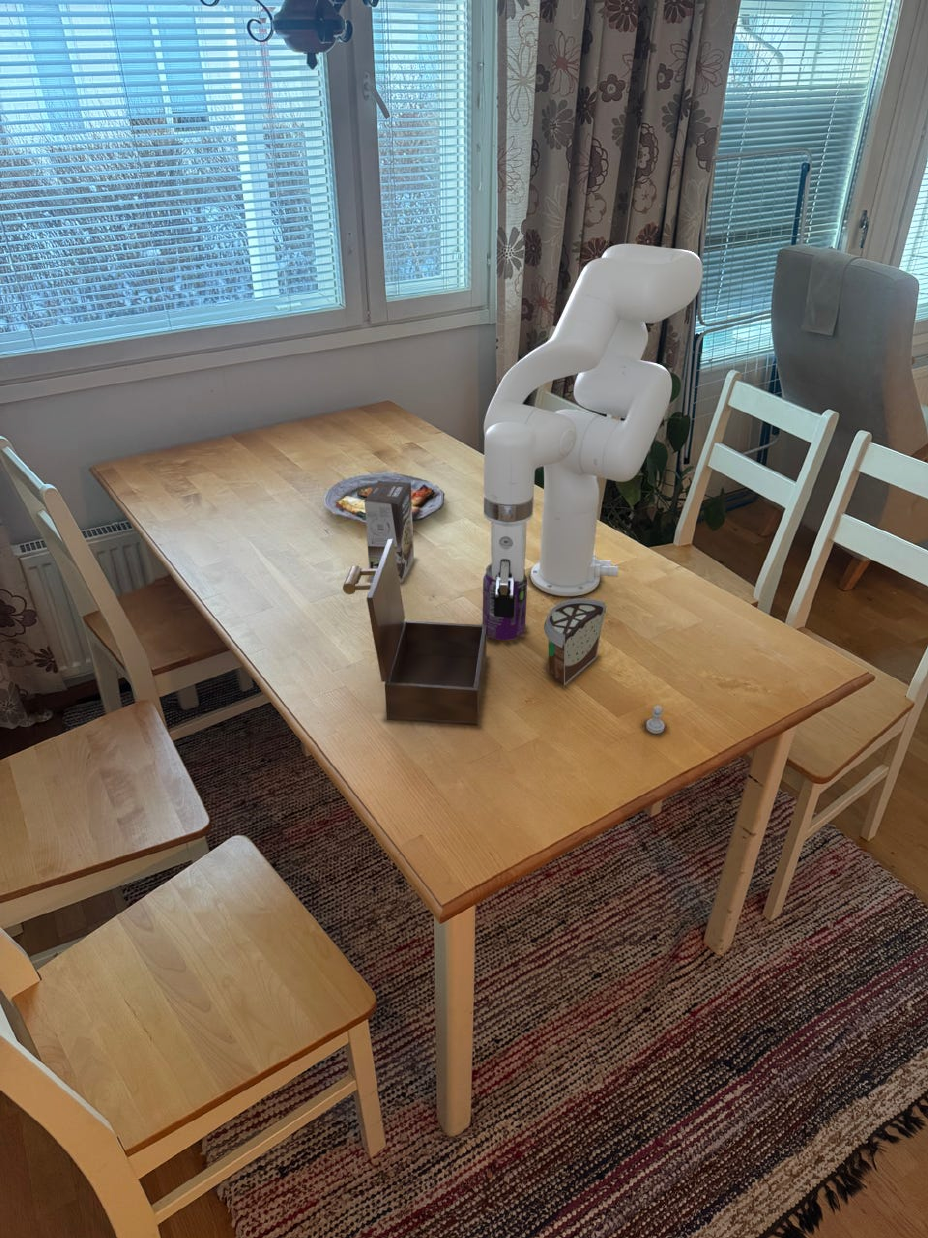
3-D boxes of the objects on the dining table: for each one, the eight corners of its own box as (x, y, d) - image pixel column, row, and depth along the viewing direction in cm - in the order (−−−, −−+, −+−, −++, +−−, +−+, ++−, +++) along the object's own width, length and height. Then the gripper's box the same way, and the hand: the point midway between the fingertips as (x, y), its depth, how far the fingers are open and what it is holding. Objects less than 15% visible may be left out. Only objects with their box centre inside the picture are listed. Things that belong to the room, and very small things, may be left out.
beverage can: (531, 638, 140) (535, 576, 134) (492, 648, 138) (493, 585, 132) (514, 616, 146) (516, 555, 139) (475, 625, 144) (476, 563, 137)
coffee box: (403, 584, 155) (399, 503, 146) (368, 580, 156) (362, 500, 147) (415, 559, 162) (412, 481, 153) (382, 556, 163) (377, 478, 154)
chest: (486, 659, 136) (486, 624, 132) (477, 726, 123) (477, 690, 119) (404, 654, 137) (402, 620, 133) (386, 720, 124) (384, 684, 120)
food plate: (463, 496, 185) (463, 481, 183) (408, 543, 167) (407, 527, 165) (366, 474, 194) (365, 459, 192) (304, 515, 177) (302, 500, 175)
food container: (569, 639, 140) (573, 587, 135) (601, 653, 137) (607, 601, 131) (525, 675, 132) (528, 621, 127) (558, 690, 129) (562, 636, 124)
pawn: (656, 720, 124) (659, 698, 121) (667, 730, 122) (671, 709, 119) (642, 725, 123) (645, 704, 120) (653, 736, 121) (657, 714, 118)
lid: (393, 538, 125) (356, 539, 126) (372, 597, 112) (330, 598, 113) (405, 617, 133) (370, 618, 134) (386, 681, 120) (348, 682, 120)
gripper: (531, 533, 122) (526, 631, 131) (535, 481, 136) (530, 573, 146) (478, 531, 122) (478, 628, 132) (488, 479, 137) (487, 571, 146)
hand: (505, 599), depth 139 cm, fingers open, 9 cm apart
